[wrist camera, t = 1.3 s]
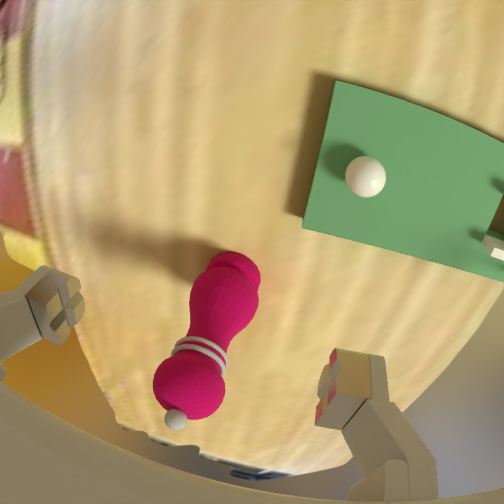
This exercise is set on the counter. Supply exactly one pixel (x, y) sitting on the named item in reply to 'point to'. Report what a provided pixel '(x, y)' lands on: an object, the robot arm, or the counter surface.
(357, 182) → the ball
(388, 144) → the green
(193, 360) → the pepper mill
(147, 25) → the counter surface
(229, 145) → the counter surface
